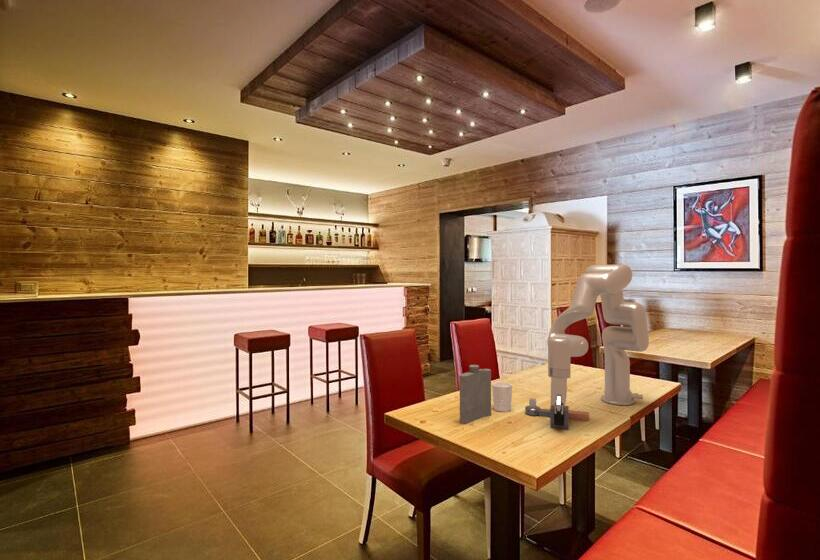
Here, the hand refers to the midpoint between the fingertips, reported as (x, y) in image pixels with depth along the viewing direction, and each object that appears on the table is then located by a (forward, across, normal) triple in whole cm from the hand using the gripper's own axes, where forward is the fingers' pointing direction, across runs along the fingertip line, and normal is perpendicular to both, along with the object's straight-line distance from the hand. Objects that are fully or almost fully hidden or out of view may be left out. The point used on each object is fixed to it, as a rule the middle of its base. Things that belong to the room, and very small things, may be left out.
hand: (559, 420), depth 148 cm
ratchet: (+2, -10, -2) cm, 10 cm away
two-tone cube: (+2, 0, 0) cm, 2 cm away
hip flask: (+2, +2, -30) cm, 30 cm away
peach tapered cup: (+2, -12, -22) cm, 25 cm away
